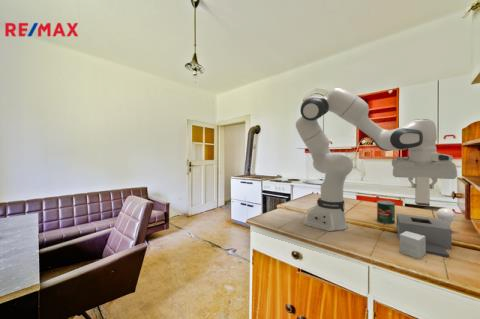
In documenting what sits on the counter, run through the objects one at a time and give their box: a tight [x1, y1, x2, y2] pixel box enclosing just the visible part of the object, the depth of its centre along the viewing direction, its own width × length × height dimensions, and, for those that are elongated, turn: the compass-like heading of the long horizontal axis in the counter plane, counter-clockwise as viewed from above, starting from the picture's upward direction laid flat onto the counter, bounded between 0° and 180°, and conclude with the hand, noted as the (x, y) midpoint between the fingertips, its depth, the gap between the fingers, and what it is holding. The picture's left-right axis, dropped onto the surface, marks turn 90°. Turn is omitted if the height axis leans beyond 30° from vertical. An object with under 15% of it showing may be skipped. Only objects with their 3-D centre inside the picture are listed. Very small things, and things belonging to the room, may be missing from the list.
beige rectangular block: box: [414, 177, 431, 207], centre depth 84 cm, size 4×4×14 cm
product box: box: [399, 231, 427, 260], centre depth 74 cm, size 6×6×7 cm
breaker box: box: [395, 213, 453, 250], centre depth 86 cm, size 16×14×8 cm
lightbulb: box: [436, 207, 457, 228], centre depth 92 cm, size 6×6×11 cm
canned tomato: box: [376, 200, 396, 225], centre depth 106 cm, size 8×8×11 cm
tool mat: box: [425, 244, 450, 259], centre depth 75 cm, size 7×7×1 cm
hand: (422, 188), depth 84 cm, fingers closed on beige rectangular block, 4 cm apart
